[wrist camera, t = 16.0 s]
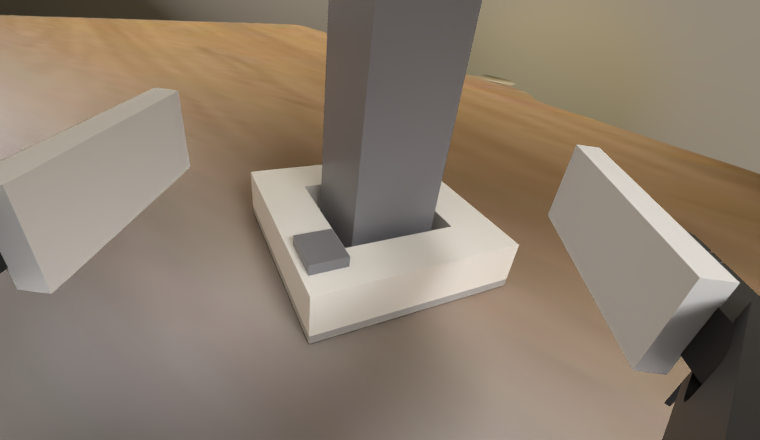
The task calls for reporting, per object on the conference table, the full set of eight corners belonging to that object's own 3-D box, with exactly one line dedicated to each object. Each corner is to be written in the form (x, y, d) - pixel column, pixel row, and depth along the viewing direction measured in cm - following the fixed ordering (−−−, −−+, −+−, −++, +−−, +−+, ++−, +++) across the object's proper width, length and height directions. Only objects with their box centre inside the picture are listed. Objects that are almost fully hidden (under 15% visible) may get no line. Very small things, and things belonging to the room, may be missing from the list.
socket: (404, 189, 32) (411, 148, 30) (503, 285, 24) (522, 236, 22) (253, 211, 27) (250, 163, 25) (308, 344, 19) (310, 286, 17)
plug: (387, 213, 28) (432, -90, 19) (424, 255, 24) (503, -95, 15) (319, 225, 26) (333, -112, 17) (349, 273, 22) (387, -122, 13)
